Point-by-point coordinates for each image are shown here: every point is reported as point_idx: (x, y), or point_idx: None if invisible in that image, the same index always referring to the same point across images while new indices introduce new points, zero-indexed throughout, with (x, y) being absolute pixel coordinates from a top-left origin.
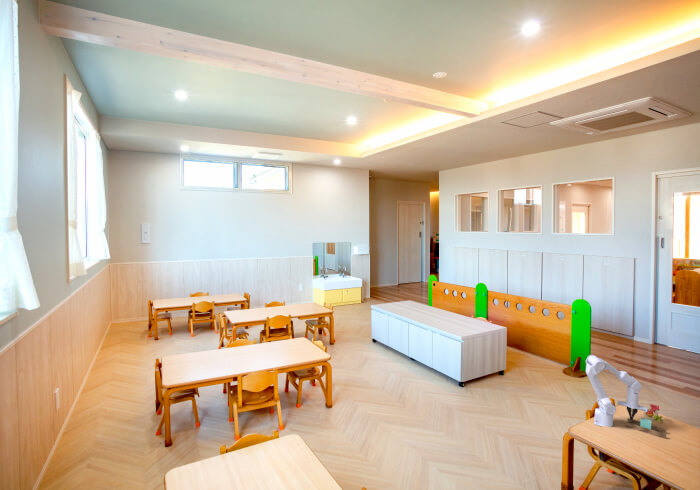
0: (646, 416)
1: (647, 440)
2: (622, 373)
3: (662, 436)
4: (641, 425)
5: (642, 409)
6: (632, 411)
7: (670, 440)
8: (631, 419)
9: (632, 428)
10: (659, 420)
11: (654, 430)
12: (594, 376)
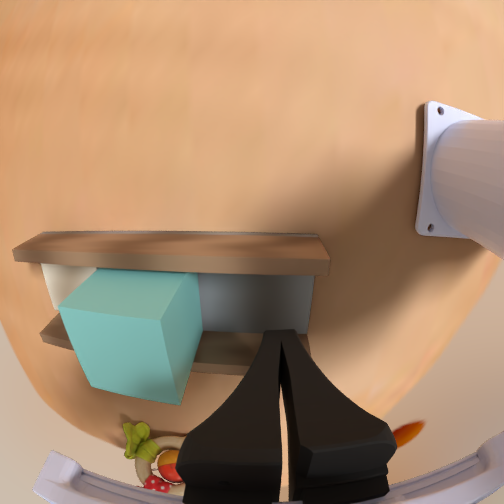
0: None
1: (128, 111)
2: None
3: (42, 240)
4: (167, 283)
5: (88, 498)
6: (278, 434)
7: None
8: (279, 331)
9: (261, 238)
10: (127, 432)
11: None
12: None
